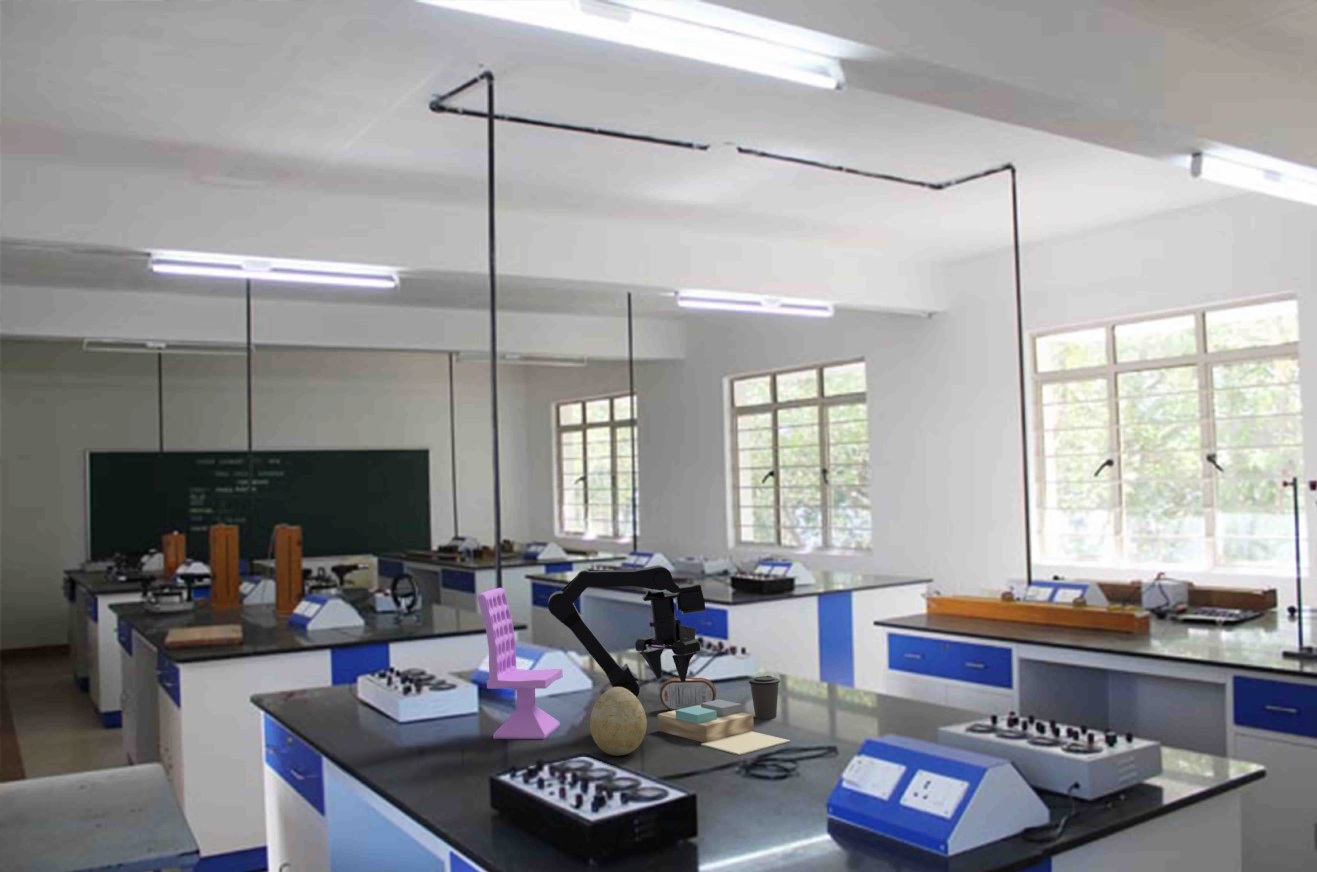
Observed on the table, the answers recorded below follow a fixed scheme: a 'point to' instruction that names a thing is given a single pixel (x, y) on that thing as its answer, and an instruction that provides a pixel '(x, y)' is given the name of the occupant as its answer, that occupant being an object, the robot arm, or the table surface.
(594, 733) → the fossilized egg
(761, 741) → the mat
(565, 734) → the table surface
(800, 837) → the table surface
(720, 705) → the gray rectangular block
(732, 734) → the wooden block
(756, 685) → the coffee cup
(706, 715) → the teal block
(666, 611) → the robot arm
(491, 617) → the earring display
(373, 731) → the table surface
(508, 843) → the table surface
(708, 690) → the tin
